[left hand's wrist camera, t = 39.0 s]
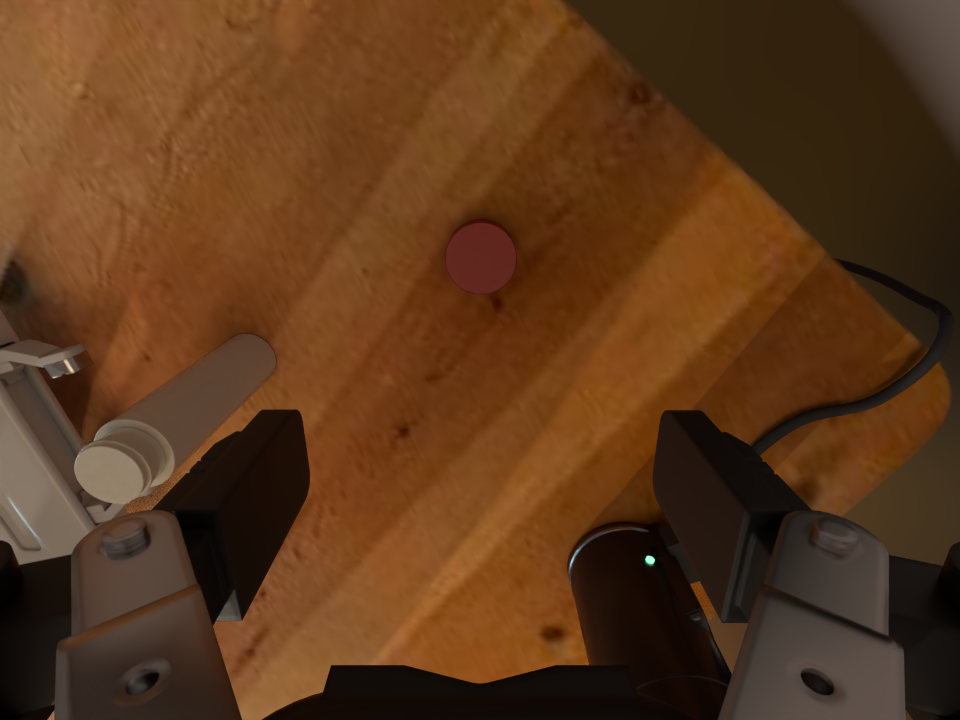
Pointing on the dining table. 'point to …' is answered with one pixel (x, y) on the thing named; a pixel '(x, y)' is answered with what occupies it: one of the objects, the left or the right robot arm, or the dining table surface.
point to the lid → (480, 257)
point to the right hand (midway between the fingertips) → (118, 420)
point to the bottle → (172, 421)
